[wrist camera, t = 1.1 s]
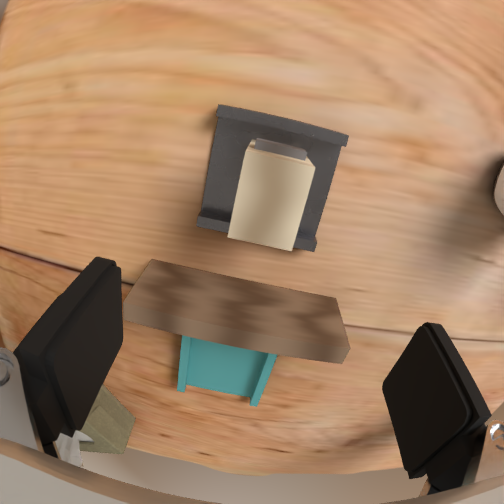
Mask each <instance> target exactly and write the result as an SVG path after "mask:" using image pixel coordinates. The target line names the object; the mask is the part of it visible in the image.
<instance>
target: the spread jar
mask: <svg viewBox="0 0 504 504" xmlns="http://www.w3.org/2000/svg"><path fill="white" fill-rule="evenodd" d="M493 197H494V201H495V204H496V206H497V208H498V209H499V211H500V212H501V213H502V214H503V215H504V163H503V164H502V166H501V168H500V170H499V172H498V174H497V177H496V180H495V184H494V190H493Z"/></svg>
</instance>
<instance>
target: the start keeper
mask: <svg viewBox="0 0 504 504" xmlns="http://www.w3.org/2000/svg"><path fill="white" fill-rule="evenodd" d="M216 116H219V117H218V122H217V127H216V132H215V137H214V142H213V147H212V153H211V158H210V163H209V169H208V174H207V180H206V185H205V191H204V197H203V203H202V209H201V212H200V213H199V215H198V218H197V225H196V226H198V227H202V228H207V229H212V230H216V231H221V232H226V233H228V232H229V227H230V222H231V218H232V213H233V208H234V203H235V198H236V193H237V189H238V184H239V179H240V174H241V170H242V165H243V160H244V156H245V151H246V149H247V147H248V146H249V144H250V142H251V140H252V139H254V140H256V139H257V138H260V139H265V140H269V141H274V142H278V143H282V144H286V145H290V146H294V147H298V148H302V149H305V150H306V152H307V157H308V159H309V160H310V161H311V163H312V164H313V165H314V166H315V171H314V175H313V179H312V182H311V186H310V190H309V193H308V197H307V200H306V204H305V207H304V211H303V214H302V218H301V221H300V225H299V228H298V232H297V235H296V238H295V242H294V245H293V247H294V248H298V249H303V250H307V251H312V252H314V251H315V248H316V244H317V240H316V237H315V235H316V231H317V228H318V225H319V222H320V219H321V215H322V212H323V209H324V205H325V202H326V199H327V195H328V192H329V189H330V185H331V182H332V178H333V175H334V171H335V168H336V164H337V161H338V157H339V154H340V150H341V146H345V147H346V145H347V141H348V137H349V136H348V135H346V134H343V133H339V132H336V131H333V130H329V129H326V128H322V127H318V126H315V125H311V124H307V123H304V122H300V121H296V120H292V119H288V118H284V117H279V116H275V115H271V114H266V113H262V112H257V111H252V110H247V109H242V108H237V107H232V106H226V105H219V104H218V109H217V114H216Z"/></svg>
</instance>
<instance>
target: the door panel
mask: <svg viewBox="0 0 504 504" xmlns="http://www.w3.org/2000/svg"><path fill="white" fill-rule="evenodd" d="M123 316H124V320H126V321H129V322H133V323H137V324H140V325H144V326H148V327H151V328H155V329H159V330H163V331H167V332H171V333H175V334H179V335H183V336H188V337H192V338H196V339H201V340H205V341H210V342H214V343H219V344H224V345H228V346H233V347H238V348H243V349H249V350H254V351H259V352H265V353H271V354H277V355H283V356H289V357H295V358H302V359H308V360H315V361H323V362H330V363H338V364H342V363H343V361H344V359H345V358H346V356H347V354H348V352H349V350H350V345H349V342H348V338H347V335H346V331H345V327H344V324H343V320H342V317H341V314H340V310H339V307H338V303H337V300H336V298H332V297H327V296H322V295H317V294H312V293H307V292H301V291H296V290H292V289H287V288H282V287H277V286H272V285H267V284H262V283H257V282H253V281H248V280H243V279H239V278H234V277H229V276H225V275H220V274H215V273H211V272H206V271H202V270H197V269H193V268H188V267H184V266H180V265H175V264H171V263H167V262H162V261H158V260H154V259H152V260H151V261H150V263H149V264H148V266H147V267H146V269H145V270H144V272H143V273H142V274H141V276H140V277H139V279H138V280H137V282H136V283H135V285H134V286H133V288H132V289H131V291H130V292H129V294H128V295H127V297H126V298H125V300H124V301H123Z"/></svg>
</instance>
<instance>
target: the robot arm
mask: <svg viewBox="0 0 504 504" xmlns="http://www.w3.org/2000/svg"><path fill="white" fill-rule="evenodd" d="M122 342H123V321H122V292H121V268H120V267H117V266H116V262H115V261H113V260H109V259H105V258H101V257H96V258H94V259H93V260H92V262H91V263H90V264H89V265H88V266H87V267H86V268H85V269H84V270H83V271H82V272H81V273H80V275H79V276H78V277H77V278H76V279H75V280H74V281H73V282H72V283H71V285H70V286H69V287H68V288H67V289H66V290H65V291H64V293H62V294H61V295H60V296H58V297H57V299H56V300H55V301H54V302H53V303H52V304H51V306H50V307H49V308H48V309H47V310H46V312H45V313H44V314H43V315H42V316H41V318H40V319H39V320H38V321H37V322H36V324H35V325H34V326H33V327H32V329H31V330H30V331H29V332H28V334H27V335H26V336H25V338H24V339H23V340H22V341H21V343H20V344H19V345H18V347H17V348H16V349H15V351H14V352H13V353H12V352H11V351H9V350H7V349H5V348H1V347H0V504H220V503H213V502H206V501H201V500H195V499H190V498H184V497H179V496H175V495H170V494H165V493H161V492H157V491H153V490H150V489H146V488H142V487H139V486H135V485H131V484H128V483H125V482H121V481H118V480H115V479H112V478H108V477H105V476H102V475H99V474H97V473H93V472H91V471H88V470H86V469H83V468H80V467H78V466H75V465H73V464H70V463H68V462H65V461H63V460H62V459H61V457H60V454H59V451H58V448H57V445H56V442H55V441H56V440H57V439H58V437H59V435H60V433H62V434H64V435H67V436H69V437H71V438H72V437H73V435H74V433H75V431H76V430H78V431H80V430H81V429H82V428H83V426H84V424H85V421H86V419H87V417H88V415H89V412H90V410H91V408H92V406H93V404H94V401H95V399H96V397H97V395H98V393H99V391H100V389H101V386H102V384H103V382H104V380H105V378H106V376H107V374H108V372H109V370H110V368H111V366H112V364H113V362H114V360H115V358H116V356H117V354H118V352H119V350H120V348H121V345H122ZM382 390H383V394H384V397H385V400H386V404H387V407H388V410H389V414H390V417H391V421H392V424H393V428H394V431H395V435H396V439H397V442H398V446H399V450H400V454H401V458H402V462H403V466H404V469H405V470H406V471H408V475H409V479H413V478H419V477H422V476H424V475H425V474H427V476H428V478H427V480H426V482H425V484H424V487H423V489H422V491H421V493H420V495H419V497H417V498H413V499H407V500H401V501H395V502H389V503H382V504H504V422H502V421H500V420H494V421H491V422H490V423H489V424H488V425H487V426H486V425H485V422H486V421H487V420H488V419H489V418H490V417H491V416H492V415H491V413H490V411H489V409H488V407H487V405H486V403H485V401H484V399H483V397H482V395H481V393H480V391H479V389H478V387H477V385H476V383H475V381H474V380H473V378H472V376H471V374H470V372H469V370H468V369H467V367H466V365H465V363H464V361H463V360H462V358H461V356H460V354H459V353H458V351H457V349H456V348H455V346H454V344H453V343H452V341H451V339H450V338H449V336H448V334H447V333H446V331H445V329H444V328H443V326H442V325H440V324H435V323H428V322H427V323H424V324H423V325H422V326H420V327H419V328H418V329H417V331H416V332H415V334H414V336H413V337H412V339H411V340H410V342H409V344H408V345H407V347H406V348H405V350H404V352H403V353H402V355H401V356H400V358H399V359H398V361H397V362H396V364H395V365H394V367H393V368H392V370H391V371H390V373H389V374H388V376H387V377H386V378H385V380H384V382H383V386H382Z"/></svg>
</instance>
